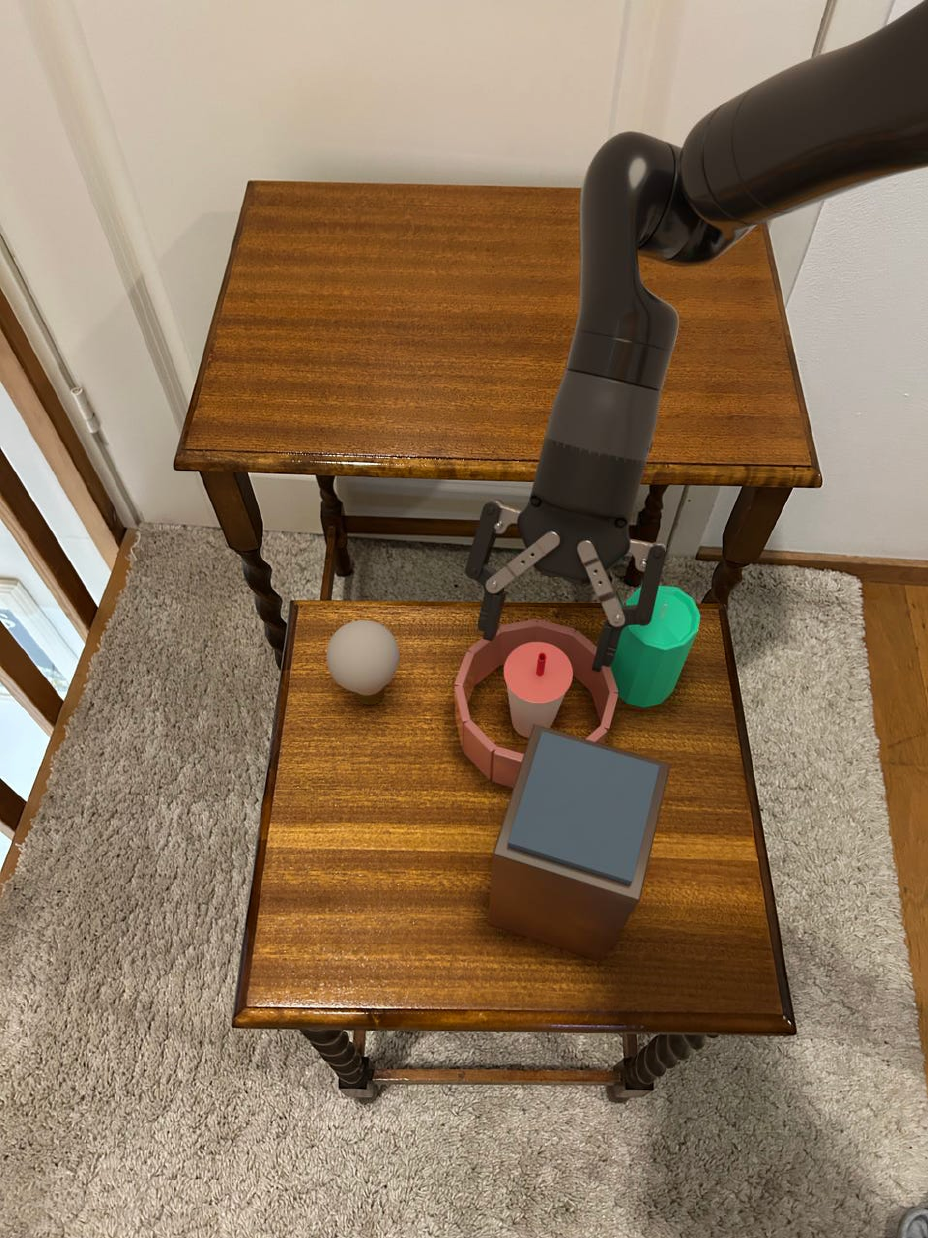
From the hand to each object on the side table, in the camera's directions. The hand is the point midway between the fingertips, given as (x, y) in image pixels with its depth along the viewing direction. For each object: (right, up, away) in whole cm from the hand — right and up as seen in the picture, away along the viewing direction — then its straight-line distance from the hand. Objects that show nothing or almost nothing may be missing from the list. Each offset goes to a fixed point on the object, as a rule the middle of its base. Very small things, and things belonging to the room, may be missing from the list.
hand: (542, 653), depth 71 cm
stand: (+2, -18, +1) cm, 18 cm away
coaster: (+1, -9, -14) cm, 17 cm away
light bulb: (-14, -4, +10) cm, 18 cm away
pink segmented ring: (0, -6, +9) cm, 11 cm away
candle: (+10, -3, +11) cm, 15 cm away
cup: (0, -6, +9) cm, 11 cm away
